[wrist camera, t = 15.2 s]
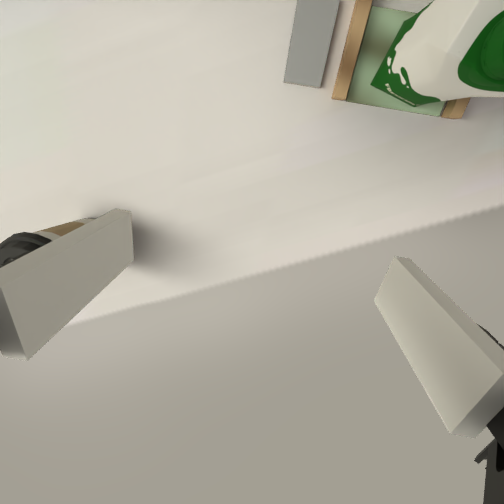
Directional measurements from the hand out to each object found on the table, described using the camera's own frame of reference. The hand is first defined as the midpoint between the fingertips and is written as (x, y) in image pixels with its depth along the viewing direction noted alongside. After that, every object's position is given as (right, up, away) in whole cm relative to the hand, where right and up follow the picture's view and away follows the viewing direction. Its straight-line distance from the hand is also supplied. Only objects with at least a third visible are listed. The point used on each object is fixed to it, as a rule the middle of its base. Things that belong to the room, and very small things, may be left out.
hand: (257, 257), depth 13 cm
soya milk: (+20, +24, +20) cm, 38 cm away
